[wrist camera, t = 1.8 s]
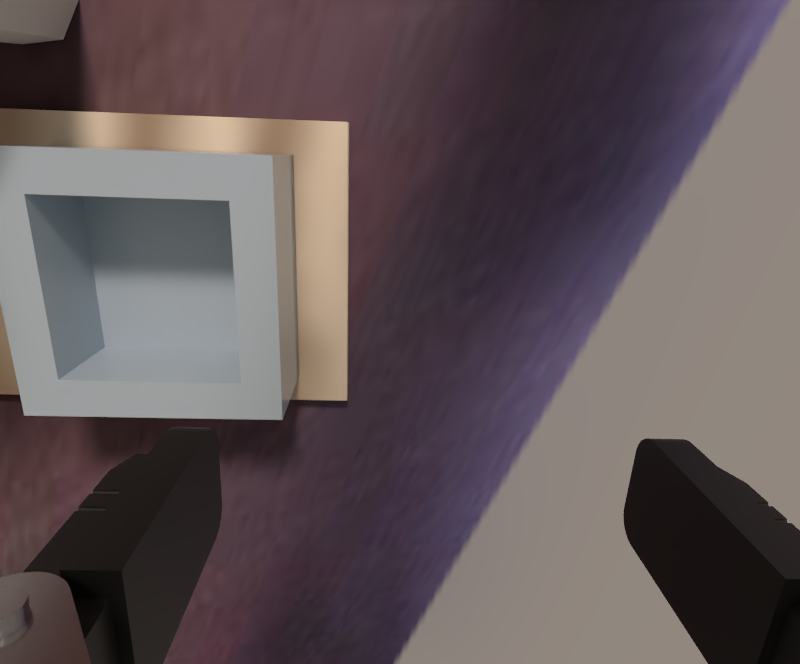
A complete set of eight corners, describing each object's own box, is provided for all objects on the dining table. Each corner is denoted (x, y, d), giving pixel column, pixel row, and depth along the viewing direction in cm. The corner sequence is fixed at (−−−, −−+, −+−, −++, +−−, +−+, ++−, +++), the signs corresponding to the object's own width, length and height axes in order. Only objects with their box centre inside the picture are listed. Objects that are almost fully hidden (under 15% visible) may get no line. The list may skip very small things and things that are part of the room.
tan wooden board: (349, 26, 24) (328, -55, 14) (347, 457, 31) (332, 593, 21) (-167, 2, 23) (-553, -102, 13) (-49, 451, 30) (-248, 590, 20)
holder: (293, 154, 25) (272, 155, 20) (299, 374, 28) (282, 420, 23) (48, 145, 24) (-33, 144, 19) (85, 370, 28) (24, 415, 23)
